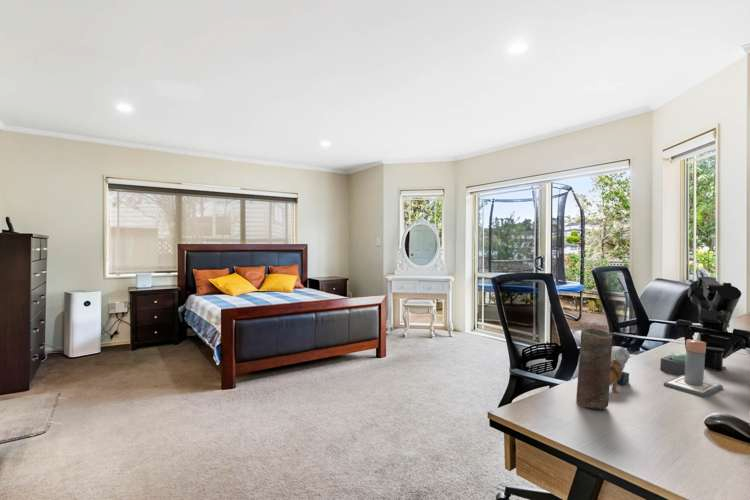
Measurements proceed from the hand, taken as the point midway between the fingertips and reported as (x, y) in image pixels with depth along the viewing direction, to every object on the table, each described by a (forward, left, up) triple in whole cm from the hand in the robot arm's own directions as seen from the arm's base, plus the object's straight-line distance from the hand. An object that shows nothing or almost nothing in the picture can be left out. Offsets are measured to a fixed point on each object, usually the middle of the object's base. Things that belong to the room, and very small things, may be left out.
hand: (704, 353), depth 119 cm
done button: (-5, -8, -6) cm, 11 cm away
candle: (+50, -8, -9) cm, 52 cm away
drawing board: (+8, 0, -9) cm, 12 cm away
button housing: (-5, -8, -9) cm, 13 cm away
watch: (+25, -14, -9) cm, 30 cm away
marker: (+8, 0, -8) cm, 11 cm away
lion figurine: (+37, -12, -9) cm, 40 cm away
